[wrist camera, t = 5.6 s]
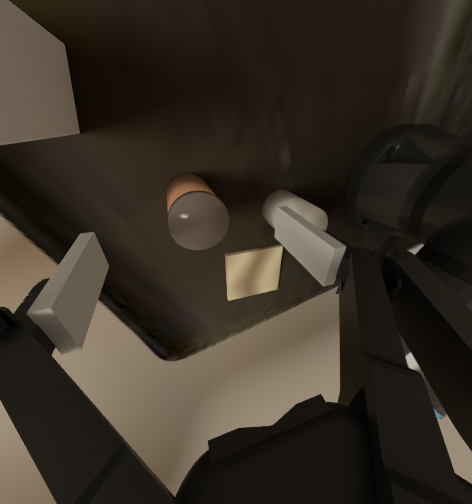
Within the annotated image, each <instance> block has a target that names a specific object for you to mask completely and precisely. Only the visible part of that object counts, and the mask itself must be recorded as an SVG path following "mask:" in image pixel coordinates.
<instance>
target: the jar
mask: <svg viewBox="0 0 472 504" xmlns="http://www.w3.org/2000/svg"><path fill="white" fill-rule="evenodd" d="M166 198H167V208H168V229H169V232H170V234H171V236H172V238H173V239H174V240H175V241H176V242H177V243H178V244H179V245H181V246H183V247H185V248H187V249H191V250H204V249H208V248H210V247H212V246H214V245H216V244H217V243H219V242H220V241H221V240H222V239H223V237H224V236H225V234H226V233H227V230H228V227H229V214H228V211H227V209H226V207H225V205H224V204H223V203H222V202H221V200H220V199H219V198H218V197H216V195H215V194H214V193H213V191H212V190H211V189H210V188H209V186H208V185H207V184H206V182H205V181H204V180H203V179H202V178H201V177H199V176H197V175H195V174H191V173H184V174H180V175H178V176H176V177H174V178H173V179H172V180H171V181H170V183H169V184H168V187H167V191H166Z"/></svg>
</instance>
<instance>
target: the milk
mask: <svg viewBox="0 0 472 504" xmlns="http://www.w3.org/2000/svg"><path fill="white" fill-rule="evenodd" d="M79 133H80V131H79V125H78V119H77V114H76V108H75V102H74V96H73V90H72V84H71V78H70V72H69V66H68V61H67V55H66V49H65V45H64V44H63V43H62V42H61V41H59V40H58V39H57V38H56V37H54V36H53V35H52V34H51V33H49V32H48V31H47V30H46V29H44V28H43V27H42V26H40V25H39V24H38V23H37V22H35V21H34V20H33V19H32V18H30V17H29V16H28V15H26V14H25V13H24V12H23V11H21V10H20V9H19V8H18V7H16V6H15V5H14V4H12V3H11V2H10V1H9V0H0V145H6V144H12V143H19V142H26V141H33V140H40V139H46V138H53V137H60V136H67V135H74V134H79Z"/></svg>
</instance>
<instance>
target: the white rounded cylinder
mask: <svg viewBox="0 0 472 504" xmlns="http://www.w3.org/2000/svg"><path fill="white" fill-rule="evenodd" d="M281 206H287V207H289V208H290V209H292V210H293V211H295V212H296V213H298V214H299V215H301V216H302V217H303V218H305V219H306V220H308V221H309V222H311V223H312V224H314V225H315V226H317V227H318V228H320V229H322V230H325V231H326V228H327V224H328V218H327V215H326V213H325V212H324V211H323V210H322V209H320V208H318V207H316V206H315V205H313V204H311V203H309V202H307V201H305V200H304V199H302V198H300V197H298V196H296V195H295V194H293V193H291V192H289V191H287V190H278V191H275V192H273V193H272V194H271V195H270V196H269V197H268V198H267V199H266V201H265V202H264V205H263V209H262V213H263V217H264V219H265V220H266V221H267V222H268V223H269V224H270V225H271V226H272V227H273V228H274V229H275V228H276V218H277V209H278V207H281Z"/></svg>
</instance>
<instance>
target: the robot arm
mask: <svg viewBox="0 0 472 504" xmlns="http://www.w3.org/2000/svg"><path fill="white" fill-rule="evenodd" d="M344 206H345V212H346V215H347V217H348V219H349V220H350V221H351V222H352V223H353V224H355V225H356V226H358V227H360V228H362V229H364V230H366V231H369V232H375V233H381V234H388V235H394V236H401V237H407V238H411V239H413V240H415V241H417V242H419V243H422V244H424V246H423V247H422V248H421V249H420V250H419V251H418V252H417V253H416V254H415V255H414V254H413V253H411V252H409V251H407V250H406V249H403V248H389V249H388V251H387V253H386V255H376V254H375V253H374V252H373V251H371V250H369V249H366V248H360V247H357V248H352V247H351V246H349V245H348V244H346V243H345V242H343V241H342V240H340V239H339V238H337V237H336V236H334V235H333V234H331V233H330V232H327V231H325V230H322V229H320V228H318V227H317V226H315V225H314V224H312V223H311V222H309V221H308V220H306V219H305V218H303V217H302V216H301V215H299V214H298V213H296V212H295V211H293V210H292V209H290V208H289V207H287V206H281V207H278V209H277V218H276V228H275V238H276V239H277V240H278V241H279V242H280V243H281V244H282V245H283V246H284V247H285V248H286V249H287V250H288V251H289V252H290V253H291V254H292V255H293V256H294V257H295V258H296V259H297V260H298V261H299V262H300V263H301V264H302V265H303V266H304V267H305V268H306V269H307V270H308V271H309V272H310V273H311V274H312V275H313V276H314V277H315V278H316V279H317V280H318V281H319V282H320V283H321V284H322V285H323V286H327V285H331V284H334V282H335V279H336V276H337V277H338V278H339V279H341V281H340V284H339V286H338V289H337V292H336V294H338V293H339V311H340V312H339V316H340V394H339V399H338V403H334V402H325V400H324V398H323V397H322V395H321V394H320V395H317V396H315V397H313V398H310V399H308V400H305V401H303V402H301V403H298V404H296V405H295V406H294V407H293V408H291V409H290V410H289V411H288V412H287V413H286V414H285V415H284V416H283V417H282V418H280V419H279V420H278V421H277V422H276V423H275V424H274V425H271V426H262V427H248V428H247V427H246V428H238V429H235V430H233V431H230V432H228V433H225V434H223V435H221V436H218V437H216V438H213V439H211V440H209V441H208V446H209V450H208V451H206V452H205V453H204V454H203V455H202V456H201V457H200V458H199V459H198V460H197V461H196V462H195V463H194V465H193V466H192V468H191V469H190V470H189V472H188V473H187V475H186V477H185V478H184V480H183V482H182V484H181V486H180V488H179V490H178V492H177V494H176V497H174V496H173V494H172V493H171V492H170V491H169V490H168V489H167V488H166V486H165V485H164V484H163V483H162V482H161V481H160V480H159V478H158V477H157V476H156V475H155V474H154V473H153V472H152V471H151V470H150V468H149V467H148V466H147V465H146V464H145V463H144V461H143V460H142V459H141V458H140V457H139V456H138V455H137V453H136V452H135V451H134V450H133V449H132V448H131V447H130V445H129V444H128V443H127V442H126V441H125V440H124V438H123V437H122V436H121V435H120V434H119V433H118V432H117V430H116V429H115V428H114V427H113V426H112V425H111V423H110V422H109V421H108V420H107V419H106V418H105V417H104V416H103V414H102V413H101V412H100V411H99V410H98V409H97V407H96V406H95V405H94V404H93V403H92V402H91V401H90V399H89V398H88V397H87V396H86V395H85V394H84V392H83V391H82V390H81V389H80V388H79V387H78V386H77V384H76V383H75V382H74V381H73V380H72V379H71V377H70V376H69V375H68V374H67V373H66V372H65V371H64V369H63V368H62V367H61V366H60V365H59V364H58V363H57V361H56V360H55V359H54V358H53V357H52V353H53V351H54V349H55V347H56V348H57V349H58V351H59V352H60V353H61V354H66V353H70V352H73V351H77V350H81V349H82V346H83V343H84V339H85V337H86V333H87V331H88V328H89V325H90V322H91V319H92V316H93V313H94V310H95V307H96V304H97V301H98V298H99V295H100V292H101V289H102V286H103V283H104V280H105V277H106V274H107V271H108V268H109V265H108V263H107V260H106V258H105V256H104V254H103V251H102V249H101V247H100V245H99V242H98V240H97V238H96V236H95V233H94V232H90V233H82V234H80V235H79V236H78V238H77V239H76V241H75V242H74V244H73V245H72V247H71V248H70V250H69V251H68V253H67V254H66V256H65V257H64V259H63V260H62V261H61V263H60V264H59V266H58V267H57V269H56V270H55V272H54V273H53V275H52V276H51V278H48V279H43V280H42V281H41V282H39V283H38V284H37V285H35V286H34V287H33V288H32V290H31V291H30V292H29V294H28V296H26V298H25V299H24V300H23V303H21V305H20V306H19V307H18V308H17V310H16V311H15V313H14V314H13V313H11V311H10V310H9V309H8V308H6V307H0V400H1V402H2V404H3V406H4V407H5V409H6V411H7V413H8V415H9V417H10V419H11V420H12V422H13V424H14V426H15V428H16V429H17V431H18V433H19V435H20V437H21V439H22V441H23V442H24V444H25V446H26V448H27V450H28V452H29V453H30V455H31V457H32V459H33V461H34V463H35V465H36V466H37V468H38V470H39V472H40V474H41V475H42V477H43V479H44V481H45V483H46V485H47V487H48V488H49V490H50V492H51V494H52V496H53V497H54V499H55V501H56V503H57V504H472V484H471V483H469V482H468V481H466V480H465V479H463V478H461V477H460V476H458V475H457V474H455V473H454V469H453V467H452V463H451V460H450V457H449V454H448V451H447V448H446V445H445V442H444V439H443V436H442V433H441V430H440V427H439V424H438V421H437V419H442V418H444V417H446V413H447V415H448V417H449V418H450V420H451V422H452V423H453V424H454V426H455V428H456V429H457V431H458V432H459V434H460V435H461V437H462V438H463V440H464V441H465V443H466V444H467V445H468V447H469V448H470V450H471V451H472V143H471V142H469V141H467V140H465V139H462V138H460V137H458V136H456V135H453V134H451V133H449V132H447V131H444V130H442V129H440V128H437V127H435V126H432V125H427V124H406V125H401V126H398V127H395V128H393V129H391V130H390V131H388V132H386V133H385V134H383V135H382V136H381V137H379V138H378V139H377V140H376V141H375V142H374V143H373V144H372V145H371V146H370V147H369V148H368V149H367V150H366V151H365V153H364V154H363V155H362V157H361V158H360V160H359V161H358V163H357V164H356V166H355V168H354V170H353V172H352V174H351V176H350V178H349V181H348V184H347V187H346V192H345V198H344ZM437 267H438V268H437Z"/></svg>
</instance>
